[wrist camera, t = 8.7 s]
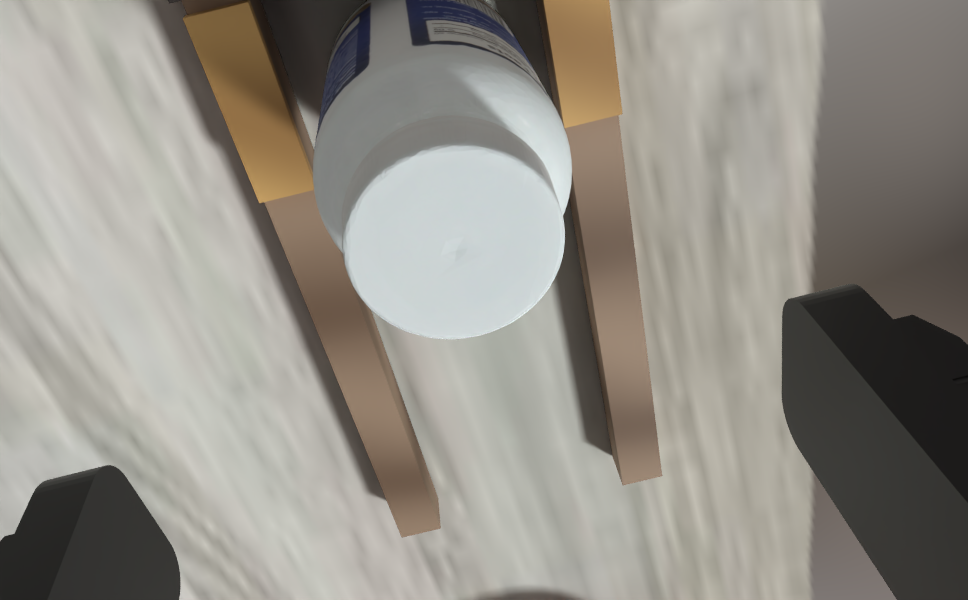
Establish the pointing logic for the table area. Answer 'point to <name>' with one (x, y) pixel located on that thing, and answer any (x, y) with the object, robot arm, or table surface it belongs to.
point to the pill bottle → (441, 167)
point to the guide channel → (320, 264)
